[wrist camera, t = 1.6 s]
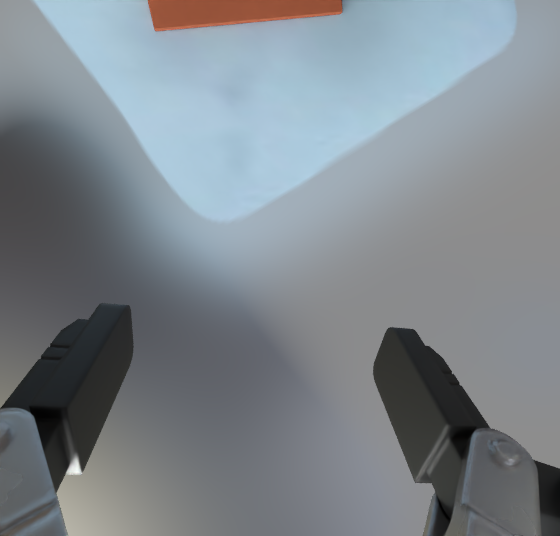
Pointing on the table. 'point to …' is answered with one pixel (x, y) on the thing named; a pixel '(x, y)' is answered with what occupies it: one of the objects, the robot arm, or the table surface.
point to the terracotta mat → (234, 11)
